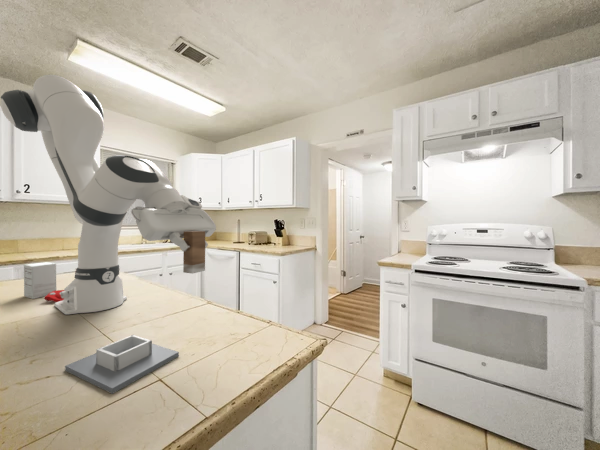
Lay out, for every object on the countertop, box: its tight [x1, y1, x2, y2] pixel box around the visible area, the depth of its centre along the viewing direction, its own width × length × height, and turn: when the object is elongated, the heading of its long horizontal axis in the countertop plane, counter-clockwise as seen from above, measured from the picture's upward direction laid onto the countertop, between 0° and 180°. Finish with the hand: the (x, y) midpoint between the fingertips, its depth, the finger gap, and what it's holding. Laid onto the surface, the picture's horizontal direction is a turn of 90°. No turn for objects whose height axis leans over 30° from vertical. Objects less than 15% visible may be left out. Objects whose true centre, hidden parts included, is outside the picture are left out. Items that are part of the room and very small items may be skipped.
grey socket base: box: [64, 334, 180, 394], centre depth 55 cm, size 16×14×4 cm
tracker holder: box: [43, 289, 64, 303], centre depth 98 cm, size 12×4×10 cm
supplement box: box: [23, 261, 57, 300], centre depth 101 cm, size 7×7×13 cm
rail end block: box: [183, 231, 206, 275], centre depth 63 cm, size 3×4×10 cm
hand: (196, 248), depth 63 cm, fingers closed on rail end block, 4 cm apart
